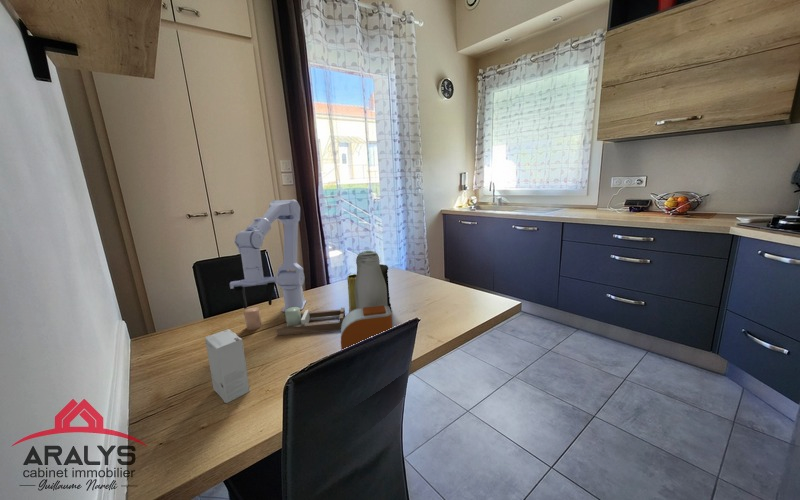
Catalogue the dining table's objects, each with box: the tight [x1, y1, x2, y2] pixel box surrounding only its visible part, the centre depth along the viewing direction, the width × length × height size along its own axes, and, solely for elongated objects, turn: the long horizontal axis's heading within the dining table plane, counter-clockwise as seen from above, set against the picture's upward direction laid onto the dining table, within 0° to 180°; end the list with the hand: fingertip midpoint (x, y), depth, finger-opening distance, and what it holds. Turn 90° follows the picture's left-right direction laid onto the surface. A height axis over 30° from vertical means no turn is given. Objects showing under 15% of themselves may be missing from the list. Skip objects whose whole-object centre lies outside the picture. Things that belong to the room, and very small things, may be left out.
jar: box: [243, 306, 263, 331], centre depth 109 cm, size 5×5×6 cm
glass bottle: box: [354, 250, 387, 308], centre depth 98 cm, size 10×10×28 cm
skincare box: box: [204, 328, 250, 404], centre depth 74 cm, size 8×6×15 cm
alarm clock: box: [340, 305, 393, 350], centre depth 88 cm, size 15×8×14 cm, turn 100°
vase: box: [346, 273, 357, 313], centre depth 118 cm, size 6×6×14 cm
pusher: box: [301, 309, 340, 325], centre depth 109 cm, size 8×14×4 cm, turn 97°
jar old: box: [284, 307, 302, 326], centre depth 107 cm, size 5×5×6 cm
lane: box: [276, 307, 346, 336], centre depth 108 cm, size 11×22×4 cm, turn 97°
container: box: [380, 263, 392, 311], centre depth 115 cm, size 9×9×18 cm
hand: (258, 305), depth 102 cm, fingers open, 7 cm apart
